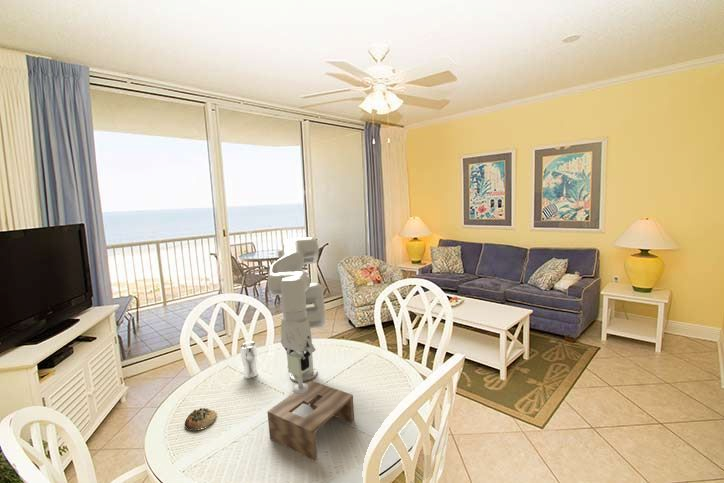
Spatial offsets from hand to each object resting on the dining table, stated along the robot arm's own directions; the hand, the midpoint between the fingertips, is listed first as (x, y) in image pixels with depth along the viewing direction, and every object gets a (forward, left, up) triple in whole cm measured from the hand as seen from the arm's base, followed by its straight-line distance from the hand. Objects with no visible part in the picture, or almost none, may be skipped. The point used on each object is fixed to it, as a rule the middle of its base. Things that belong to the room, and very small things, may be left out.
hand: (299, 366), depth 114 cm
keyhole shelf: (0, +4, -25) cm, 26 cm away
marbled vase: (-51, +18, -26) cm, 60 cm away
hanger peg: (0, 0, -8) cm, 8 cm away
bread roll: (-40, -13, -26) cm, 49 cm away
